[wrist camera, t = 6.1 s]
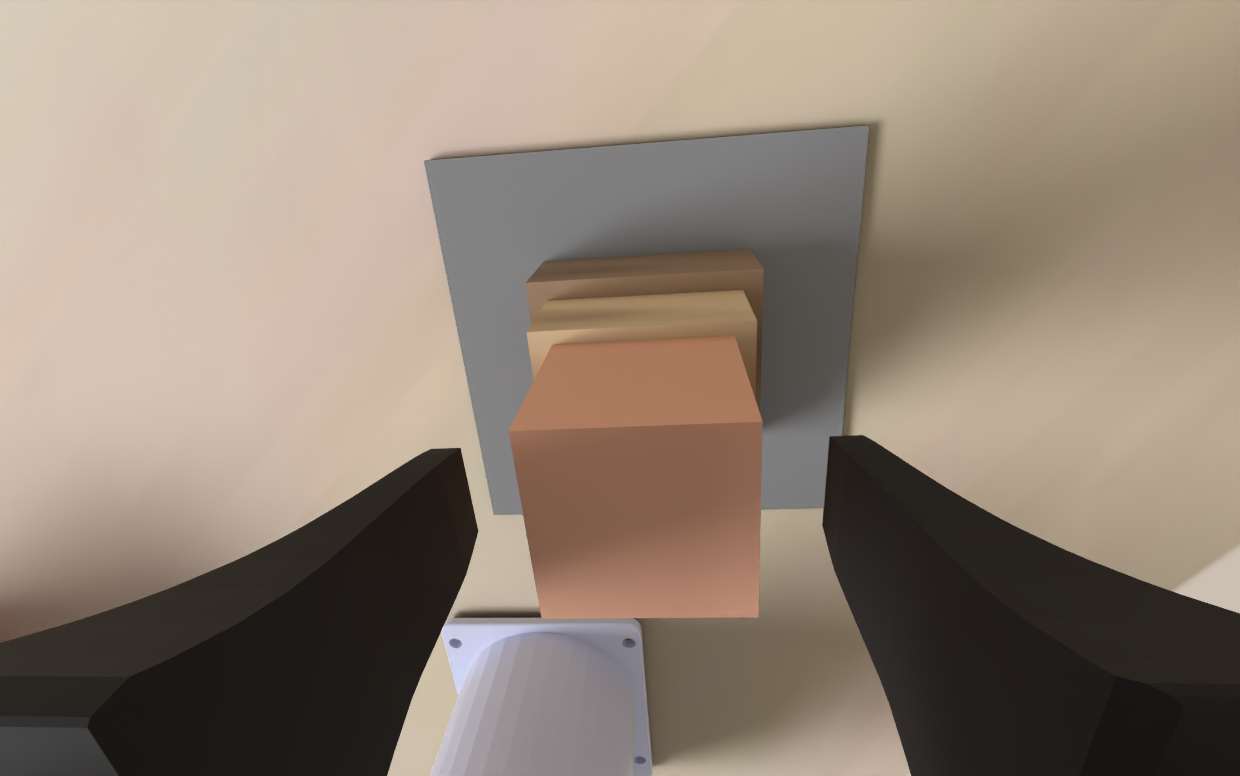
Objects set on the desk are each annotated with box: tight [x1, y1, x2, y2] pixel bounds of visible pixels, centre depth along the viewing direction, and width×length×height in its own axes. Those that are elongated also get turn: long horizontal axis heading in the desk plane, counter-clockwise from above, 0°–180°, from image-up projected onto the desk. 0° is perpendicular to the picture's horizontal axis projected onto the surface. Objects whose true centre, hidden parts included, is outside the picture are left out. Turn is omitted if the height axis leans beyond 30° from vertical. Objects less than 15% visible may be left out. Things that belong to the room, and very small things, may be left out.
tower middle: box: [526, 290, 757, 398], centre depth 15 cm, size 5×5×2 cm
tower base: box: [525, 249, 764, 412], centre depth 17 cm, size 6×6×2 cm
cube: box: [509, 336, 763, 619], centre depth 12 cm, size 4×4×4 cm
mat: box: [424, 125, 869, 515], centre depth 18 cm, size 12×12×1 cm
